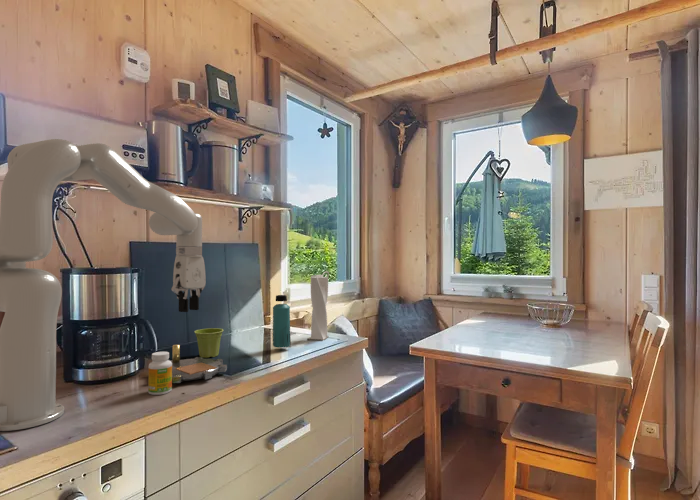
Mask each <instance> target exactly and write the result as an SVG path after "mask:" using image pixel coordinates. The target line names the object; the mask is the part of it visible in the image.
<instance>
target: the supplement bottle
mask: <svg viewBox="0 0 700 500" xmlns="http://www.w3.org/2000/svg"><path fill="white" fill-rule="evenodd" d="M169 358H170V352H169V351H157V352H156V351H155V352H153V353H151V360H152V361H151V362H149V364H148V377H147V378H148V379H147V380H148V381H147V382H148V384H147V385H148V387H147V388H148V394H149V395H152V396H160V395H166V394H169V393H170V392H172V390H173V381H172V362H171V361H170V359H169Z"/></svg>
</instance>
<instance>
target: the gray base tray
mask: <svg viewBox="0 0 700 500" xmlns="http://www.w3.org/2000/svg"><path fill="white" fill-rule="evenodd" d="M180 346H181V344H173V345H172V360H170V359H169V361H171V362H172V384H182V382H185V381H186V382H188V381H189V382H190V381H196V380H201V379H203V380H208V379H212V378H213V376H216V375H217V374H219V373H222V372H224V373H225V372H227V370H228V365H227V364H224V359H222V358H217V359H213V358H202V357H200V356H196V357H194V358H186V359H181V355H180V354H181V353H180V352H181V350H180V349H181V348H180Z"/></svg>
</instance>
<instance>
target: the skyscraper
mask: <svg viewBox="0 0 700 500" xmlns="http://www.w3.org/2000/svg"><path fill="white" fill-rule="evenodd" d="M326 273H327V276H324V274H326ZM329 275H330V272H329V271H327V270H326V271H324V272H323V273H322V274H316V275H314V274H313V275H311V276H310V300H311V306H312V310H311V326H310V332H311V333H310V336H309V337H308V338H307V341H320V340H324V341H325V340H327V339H328V338H329V335H328V315H327V314H328V313H327V304H328V303H327V302H328V298H329V297H328V296H329V295H328V294H329Z"/></svg>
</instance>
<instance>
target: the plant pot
mask: <svg viewBox="0 0 700 500" xmlns="http://www.w3.org/2000/svg"><path fill="white" fill-rule="evenodd" d="M223 332H224V329H223V328H216V327H215V328H213V327H211V328H210V327H209V328H202V329H196V330H194V334H195V337H196V341H197V347H198V354H199V357H202V359H210V357H212V358H215V357H218V356H219V354H220V347H221V341H222V340H221V339H222V335H223Z"/></svg>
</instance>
